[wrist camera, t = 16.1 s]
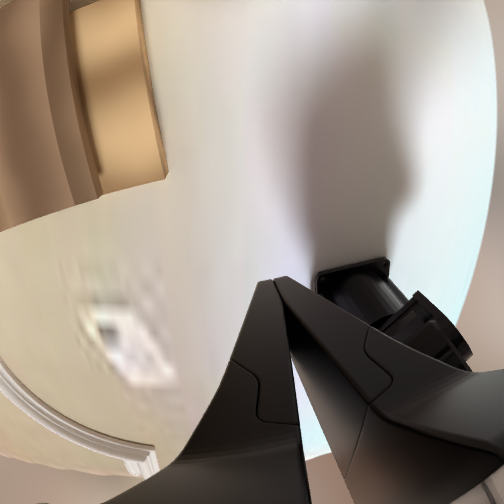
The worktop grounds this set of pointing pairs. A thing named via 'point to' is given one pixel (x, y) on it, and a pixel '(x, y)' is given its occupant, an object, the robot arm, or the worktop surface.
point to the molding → (78, 428)
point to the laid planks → (41, 115)
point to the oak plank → (117, 94)
